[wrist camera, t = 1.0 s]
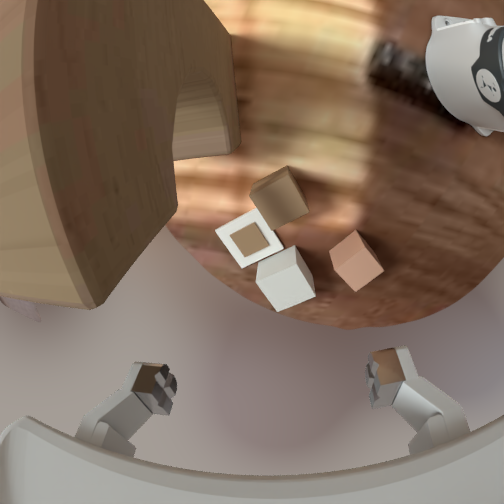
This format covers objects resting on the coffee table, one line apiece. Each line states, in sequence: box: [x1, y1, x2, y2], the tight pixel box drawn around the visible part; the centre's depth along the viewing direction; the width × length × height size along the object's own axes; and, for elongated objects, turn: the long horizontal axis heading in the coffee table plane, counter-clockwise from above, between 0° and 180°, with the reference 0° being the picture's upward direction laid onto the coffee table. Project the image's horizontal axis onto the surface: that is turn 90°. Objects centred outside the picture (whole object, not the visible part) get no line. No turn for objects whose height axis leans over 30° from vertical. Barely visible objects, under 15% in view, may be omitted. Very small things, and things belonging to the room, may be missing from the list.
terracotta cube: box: [329, 230, 384, 292], centre depth 36 cm, size 5×5×5 cm
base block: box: [256, 245, 316, 312], centre depth 39 cm, size 6×6×5 cm
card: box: [215, 207, 284, 268], centre depth 38 cm, size 7×7×1 cm
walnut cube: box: [249, 166, 309, 231], centre depth 33 cm, size 5×5×5 cm
